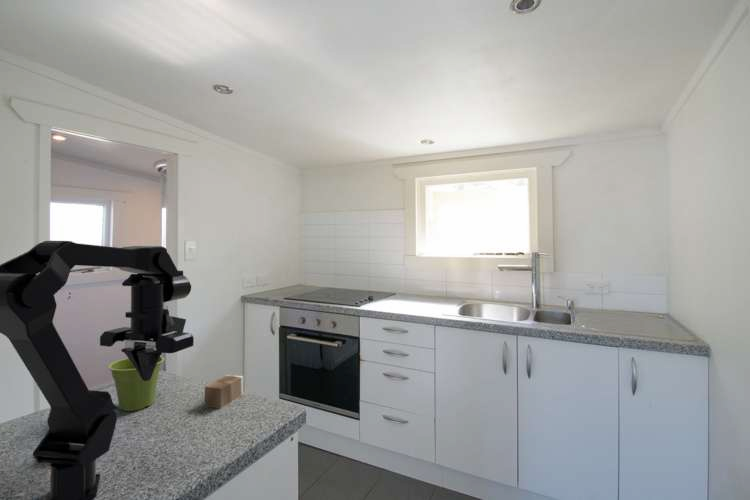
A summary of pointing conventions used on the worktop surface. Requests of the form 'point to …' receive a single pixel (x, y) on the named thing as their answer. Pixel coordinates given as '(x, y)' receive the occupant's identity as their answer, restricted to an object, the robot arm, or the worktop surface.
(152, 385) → the plant pot
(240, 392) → the walnut block
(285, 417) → the worktop surface
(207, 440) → the worktop surface
